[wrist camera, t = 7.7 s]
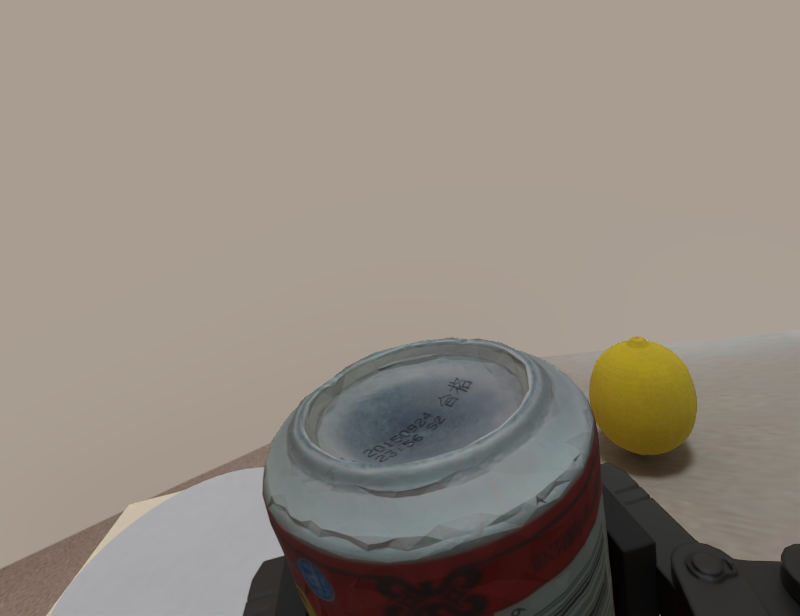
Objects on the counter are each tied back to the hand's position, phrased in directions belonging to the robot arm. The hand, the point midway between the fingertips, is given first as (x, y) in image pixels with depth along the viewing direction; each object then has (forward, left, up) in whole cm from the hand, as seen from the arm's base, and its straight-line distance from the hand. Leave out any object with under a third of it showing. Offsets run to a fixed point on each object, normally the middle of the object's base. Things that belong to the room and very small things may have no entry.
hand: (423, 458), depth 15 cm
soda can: (0, +5, -7) cm, 8 cm away
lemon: (-14, -7, -9) cm, 18 cm away
